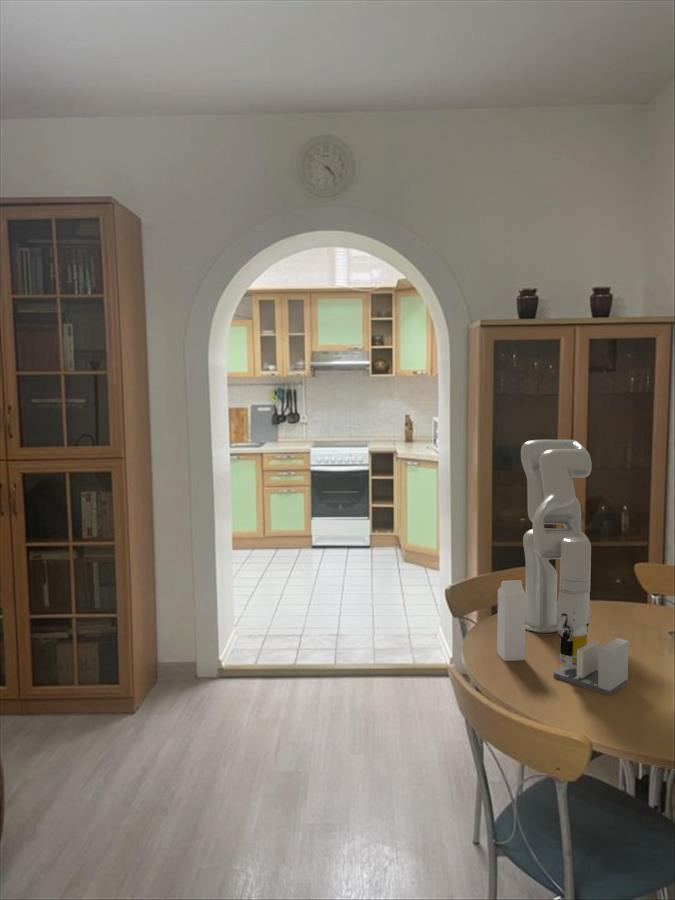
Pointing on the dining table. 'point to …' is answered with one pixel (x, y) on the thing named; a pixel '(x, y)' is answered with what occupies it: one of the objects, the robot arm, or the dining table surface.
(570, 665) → the supplement bottle
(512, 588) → the milk
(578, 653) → the cream flat slab
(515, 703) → the dining table surface
